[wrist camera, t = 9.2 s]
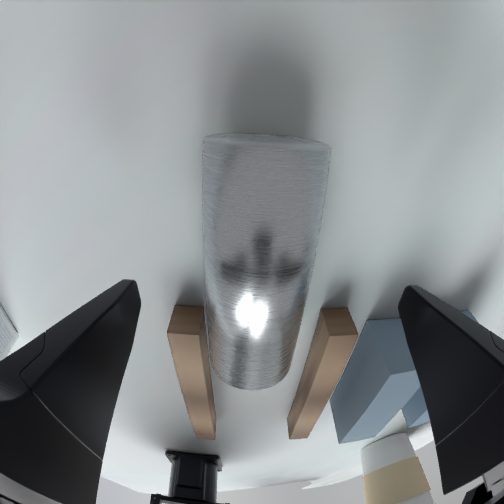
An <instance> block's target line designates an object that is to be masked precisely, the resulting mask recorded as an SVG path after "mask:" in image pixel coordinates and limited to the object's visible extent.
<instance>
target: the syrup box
mask: <svg viewBox="0 0 504 504" xmlns="http://www.w3.org/2000/svg"><path fill="white" fill-rule="evenodd" d="M17 338H18V334H17V332H16V330H15V328H14V327H13V325H12V323H11V321H10V320H9V318H8V316H7V315H6V313H5V311H4V310H3V308H2V306H1V305H0V361H1V360H2V359H4V358H6V357H7V355H8V353H9V352H10V350H11V348H12V347H13V345H14V343H15V342H16V340H17Z"/></svg>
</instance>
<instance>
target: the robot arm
mask: <svg viewBox="0 0 504 504" xmlns="http://www.w3.org/2000/svg"><path fill="white" fill-rule="evenodd" d="M140 308H141V299H140V295H139V291H138V286H137V283H136V281H135V280H128V279H123V280H121V281H120V282H118V283H117V284H115V285H114V286H112V287H111V288H109V289H107V290H106V291H104V292H103V293H101V294H100V295H98V296H97V297H95V298H94V299H92V300H91V301H89V302H88V303H86V304H84V305H83V306H81V307H80V308H78V309H77V310H76V311H74V312H73V313H71V314H70V315H68V316H67V317H65V318H64V319H62V320H61V321H59V322H58V323H56V324H55V325H54V326H52V327H51V328H49V329H48V330H46V333H45V332H43V333H42V334H41V335H39V336H38V337H36V338H35V339H34V340H32V341H31V342H29V343H28V344H26V345H25V346H23V347H22V348H20V349H18V350H17V351H15V352H14V353H12V354H11V355H9V356H7V357H6V358H4V359H2V360H1V361H0V504H96V497H97V490H98V484H99V478H100V473H101V467H102V462H103V461H102V460H103V456H104V451H105V447H106V442H107V438H108V433H109V429H110V425H111V421H112V417H113V413H114V409H115V405H116V401H117V397H118V394H119V390H120V386H121V383H122V379H123V376H124V373H125V369H126V366H127V363H128V359H129V356H130V353H131V350H132V346H133V341H134V336H135V332H136V327H137V322H138V317H139V313H140ZM398 311H399V314H400V318H401V322H402V325H403V329H404V333H405V337H406V341H407V345H408V348H409V351H410V354H411V357H412V360H413V363H414V366H415V369H416V373H417V376H418V379H419V382H420V386H421V389H422V393H423V396H424V400H425V403H426V407H427V411H428V415H429V419H430V423H431V427H432V431H433V436H434V441H435V445H436V451H437V456H438V462H439V468H440V474H441V481H442V489H443V493H444V495H446V494H448V493H450V492H452V491H454V490H456V489H458V488H460V487H462V486H464V485H466V484H468V483H469V482H471V481H473V480H475V479H477V478H478V477H480V476H482V477H483V480H484V482H482V483H481V484H479V485H478V486H476V487H475V488H473V489H472V490H470V491H468V492H467V493H466V495H465V498H464V500H463V502H462V504H504V340H503V339H502V338H500V337H499V336H497V335H496V334H494V333H493V332H491V331H489V330H488V329H487V328H485V327H483V326H482V325H480V324H479V323H477V322H476V321H474V320H473V319H471V318H470V317H468V316H467V315H465V314H463V313H462V312H460V311H459V310H457V309H455V308H454V307H452V306H451V305H449V304H447V303H446V302H444V301H442V300H441V299H439V298H438V297H436V296H434V295H433V294H431V293H429V292H428V291H426V290H424V289H423V288H421V287H419V286H417V285H408V286H407V287H406V288H405V290H404V292H403V295H402V297H401V299H400V302H399V305H398ZM165 455H166V456H167V458H168V459H169V460H170V462H171V463H172V468H171V476H170V485H169V494H168V496H163V495H161V494H151V501H150V504H162V503H167V504H220V503H216V493H217V471H222V466H221V461H220V457H217V456H204V455H194V454H185V453H177V452H169V451H166V453H165ZM225 504H229V503H225Z"/></svg>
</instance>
